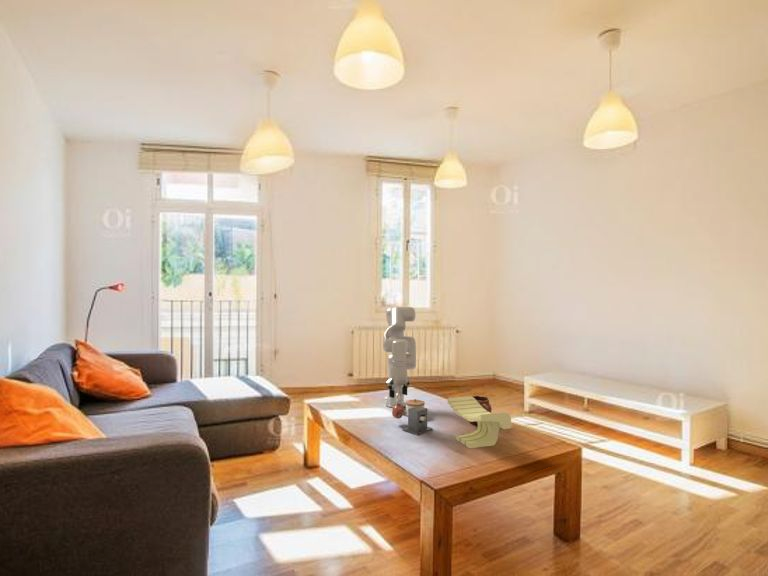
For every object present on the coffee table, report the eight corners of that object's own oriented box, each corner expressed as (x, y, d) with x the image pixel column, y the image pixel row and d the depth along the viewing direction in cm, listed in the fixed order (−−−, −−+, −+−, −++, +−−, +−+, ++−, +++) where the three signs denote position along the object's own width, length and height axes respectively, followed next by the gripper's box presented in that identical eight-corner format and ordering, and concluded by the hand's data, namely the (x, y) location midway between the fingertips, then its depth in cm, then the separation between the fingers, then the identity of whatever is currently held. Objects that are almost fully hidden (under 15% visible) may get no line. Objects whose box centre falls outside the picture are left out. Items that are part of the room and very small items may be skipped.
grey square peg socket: (402, 430, 229) (402, 408, 229) (418, 425, 237) (418, 404, 237) (417, 435, 222) (417, 413, 222) (432, 430, 230) (433, 408, 230)
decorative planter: (499, 428, 234) (500, 401, 234) (479, 430, 230) (479, 403, 230) (479, 417, 253) (479, 392, 253) (460, 419, 249) (460, 394, 249)
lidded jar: (421, 419, 248) (422, 402, 248) (403, 417, 252) (403, 400, 252) (426, 414, 258) (426, 397, 258) (408, 412, 262) (408, 396, 262)
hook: (391, 418, 238) (392, 394, 238) (400, 416, 243) (401, 392, 243) (419, 427, 224) (420, 401, 224) (428, 425, 229) (429, 399, 229)
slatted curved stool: (510, 450, 203) (511, 411, 203) (480, 455, 197) (480, 414, 197) (474, 430, 231) (475, 395, 231) (447, 433, 226) (447, 398, 225)
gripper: (404, 361, 248) (404, 392, 248) (382, 364, 236) (381, 397, 236) (415, 363, 242) (414, 394, 242) (392, 366, 230) (391, 399, 230)
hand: (398, 396), depth 239 cm, fingers open, 9 cm apart
